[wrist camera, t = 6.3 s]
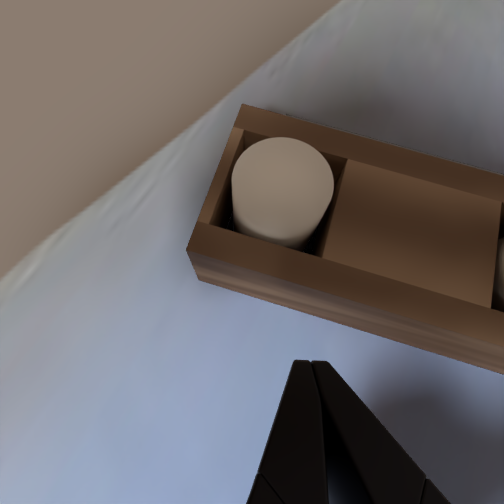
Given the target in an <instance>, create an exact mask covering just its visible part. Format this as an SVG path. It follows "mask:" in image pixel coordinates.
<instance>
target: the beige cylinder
mask: <svg viewBox="0 0 504 504" xmlns="http://www.w3.org/2000/svg"><path fill="white" fill-rule="evenodd" d="M333 190H334V180H333V175H332V171H331V169H330V166H329V164H328V163H327V161H326V160H325V158H324V157H323V156H322V155H321V154H320V153H319V152H318V151H317V150H316V149H315V148H313V147H312V146H310V145H309V144H307V143H305V142H302V141H300V140H297V139H292V138H286V137H275V138H269V139H265V140H262V141H259V142H257V143H255V144H253V145H252V146H250V147H249V148H248V149H246V150H245V151H244V152H243V153H242V154H241V156H240V157H239V159H238V160H237V162H236V164H235V166H234V169H233V173H232V202H233V226H234V232H237V233H240V234H243V235H247V236H250V237H253V238H257V239H260V240H263V241H267V242H270V243H274V244H277V245H280V246H284V247H287V248H290V249H294V250H297V251H300V252H304V250H305V249H306V247H307V245H308V243H309V241H310V239H311V238H312V236H313V234H314V232H315V230H316V228H317V226H318V224H319V222H320V220H321V218H322V216H323V214H324V213H325V211H326V209H327V207H328V205H329V203H330V201H331V198H332V195H333Z"/></svg>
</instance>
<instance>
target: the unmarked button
mask: <svg viewBox="0 0 504 504" xmlns="http://www.w3.org/2000/svg"><path fill="white" fill-rule="evenodd" d="M491 309H494V310H498V311H501V312H504V237H503V238H501V239H499V240H498V243H497V252H496V262H495V272H494V282H493V291H492V301H491Z"/></svg>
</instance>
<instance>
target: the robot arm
mask: <svg viewBox="0 0 504 504" xmlns="http://www.w3.org/2000/svg"><path fill="white" fill-rule="evenodd" d="M246 504H451V503H450V502H449V501H448V500H447V499H446V498H445V497H444V495H443V494H442V493H441V492H440V491H439V490H438V489H437V487H436V486H435V485H434V484H433V483H432V482H431V480H430V479H426V475H425V474H424V472H423V471H422V470H421V469H420V468H419V467H418V466H417V464H416V463H415V462H414V461H413V460H412V459H411V457H410V456H409V455H408V454H407V453H406V452H405V450H404V449H403V448H402V447H401V446H400V445H399V443H398V442H397V441H396V440H395V439H394V438H393V436H392V435H391V434H390V433H389V432H388V431H387V430H386V428H385V427H384V426H383V425H382V424H381V423H380V421H379V420H378V419H377V418H376V417H375V416H374V414H373V413H372V412H371V411H370V410H369V409H368V407H367V406H366V405H365V404H364V403H363V402H362V400H361V399H360V398H359V397H358V396H357V395H356V393H355V392H354V391H353V390H352V389H351V388H350V387H349V385H348V384H347V383H346V382H345V381H344V380H343V378H342V377H341V376H340V375H339V374H338V373H337V371H336V370H335V369H334V368H333V367H332V366H331V364H330V363H329V362H327V361H312V362H310V361H308V360H294V361H293V364H292V367H291V370H290V373H289V376H288V379H287V382H286V385H285V388H284V391H283V394H282V397H281V400H280V403H279V407H278V410H277V413H276V416H275V419H274V422H273V425H272V428H271V431H270V434H269V437H268V440H267V443H266V446H265V449H264V453H263V456H262V459H261V462H260V465H259V468H258V471H257V474H256V476H255V479H254V483H253V486H252V489H251V492H250V494H249V497H248V500H247V503H246Z"/></svg>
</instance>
